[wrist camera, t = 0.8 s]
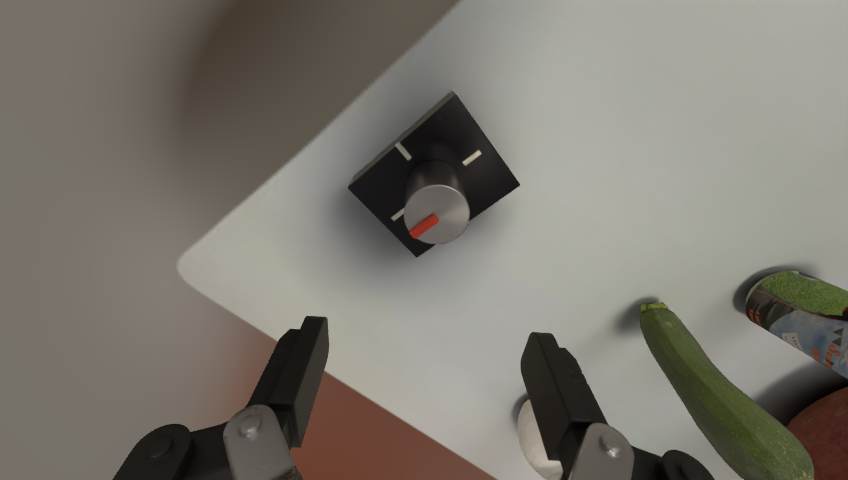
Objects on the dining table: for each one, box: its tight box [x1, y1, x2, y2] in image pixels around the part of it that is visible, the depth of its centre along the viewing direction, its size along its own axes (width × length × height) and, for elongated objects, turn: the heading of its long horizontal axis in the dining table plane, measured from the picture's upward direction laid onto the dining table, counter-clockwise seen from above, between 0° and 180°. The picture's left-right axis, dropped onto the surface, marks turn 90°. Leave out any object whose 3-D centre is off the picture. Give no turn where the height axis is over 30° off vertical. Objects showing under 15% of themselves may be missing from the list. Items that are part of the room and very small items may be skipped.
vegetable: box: [639, 302, 814, 480], centre depth 25 cm, size 4×4×20 cm
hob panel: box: [348, 91, 520, 257], centre depth 25 cm, size 10×8×3 cm
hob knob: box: [404, 160, 470, 244], centre depth 22 cm, size 4×4×5 cm
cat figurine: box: [518, 399, 563, 480], centre depth 35 cm, size 9×12×15 cm
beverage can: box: [746, 270, 848, 379], centre depth 27 cm, size 6×7×12 cm
